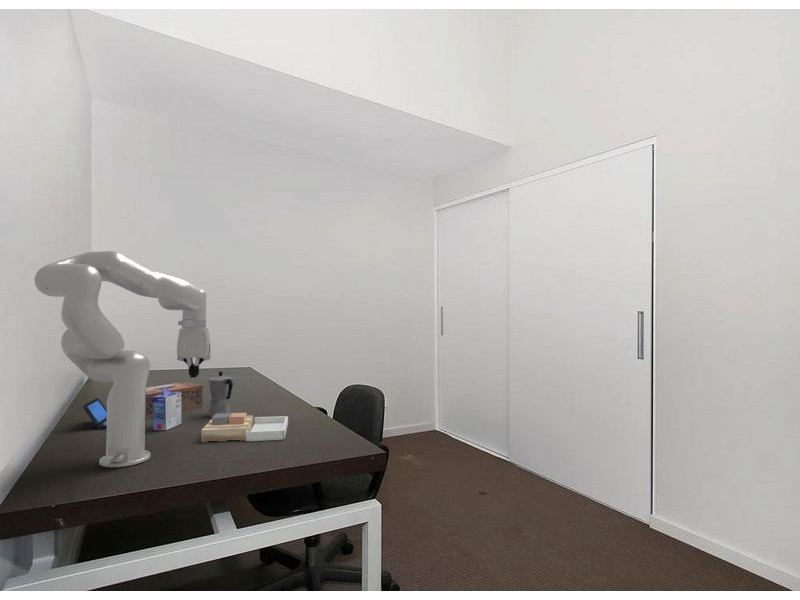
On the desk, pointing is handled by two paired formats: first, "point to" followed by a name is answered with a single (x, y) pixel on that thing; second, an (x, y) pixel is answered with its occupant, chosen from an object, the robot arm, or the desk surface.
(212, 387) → the coffeepot
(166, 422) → the ink cartridge box
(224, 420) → the slate tile
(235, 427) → the plate
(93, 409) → the handheld game console
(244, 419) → the salmon pink block
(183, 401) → the tissue box cover
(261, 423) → the box
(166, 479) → the desk surface
